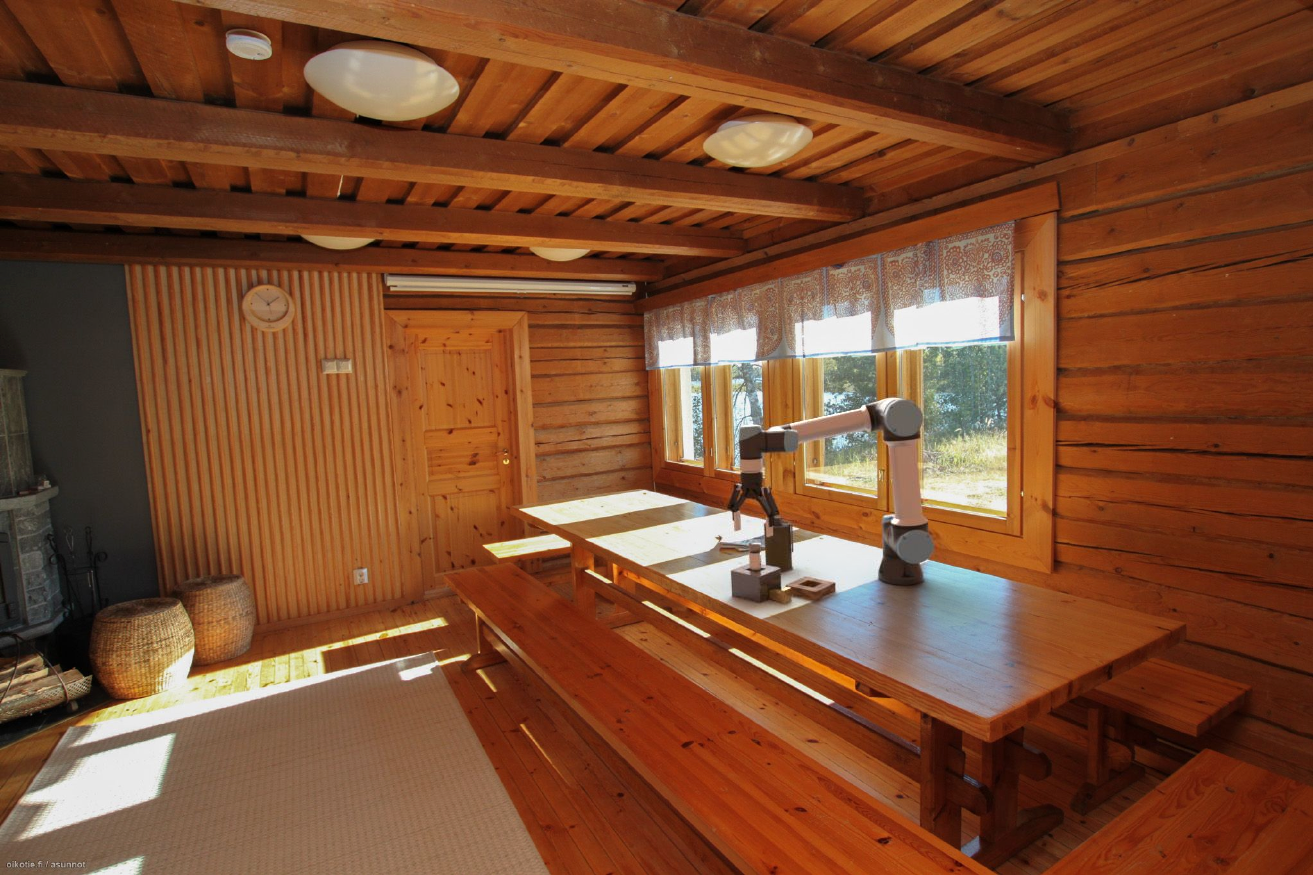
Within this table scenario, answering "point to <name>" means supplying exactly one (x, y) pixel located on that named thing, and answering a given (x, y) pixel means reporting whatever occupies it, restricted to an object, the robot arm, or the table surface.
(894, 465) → the robot arm
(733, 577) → the socket block
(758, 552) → the pink cylindrical peg
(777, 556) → the canister
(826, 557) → the table surface
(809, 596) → the brown flat square frame
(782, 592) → the yellow notched block
